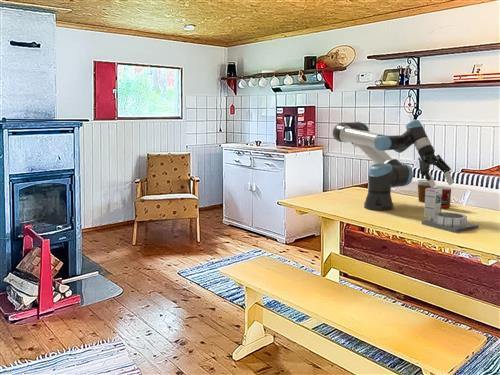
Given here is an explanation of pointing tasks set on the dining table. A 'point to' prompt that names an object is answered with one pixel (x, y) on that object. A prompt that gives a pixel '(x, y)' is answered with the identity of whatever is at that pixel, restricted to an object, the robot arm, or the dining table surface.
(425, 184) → the disposable coffee cup
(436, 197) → the syrup box
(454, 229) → the ring plate
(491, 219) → the dining table surface
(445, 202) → the canned food
